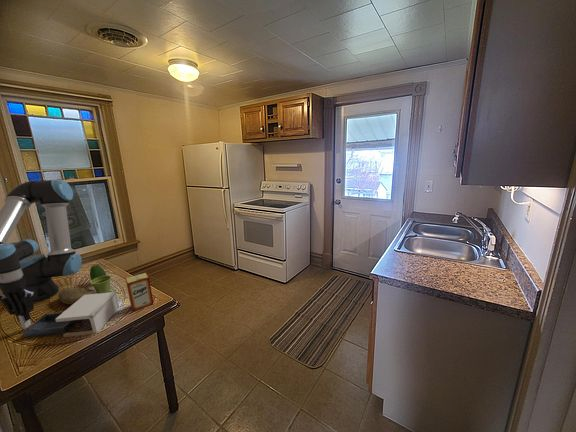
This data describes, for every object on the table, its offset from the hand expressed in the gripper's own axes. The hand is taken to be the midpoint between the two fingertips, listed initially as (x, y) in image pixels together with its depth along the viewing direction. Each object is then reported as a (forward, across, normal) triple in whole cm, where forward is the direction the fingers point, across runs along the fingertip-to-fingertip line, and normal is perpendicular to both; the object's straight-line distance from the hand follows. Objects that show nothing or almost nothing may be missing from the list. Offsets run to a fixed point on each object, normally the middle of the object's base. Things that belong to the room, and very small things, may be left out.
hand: (26, 326), depth 109 cm
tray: (+2, +11, 0) cm, 11 cm away
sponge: (+2, +7, +22) cm, 23 cm away
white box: (+2, +26, +2) cm, 26 cm away
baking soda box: (+2, +44, +12) cm, 46 cm away
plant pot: (+2, +17, +27) cm, 32 cm away
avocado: (+2, +7, +41) cm, 42 cm away
